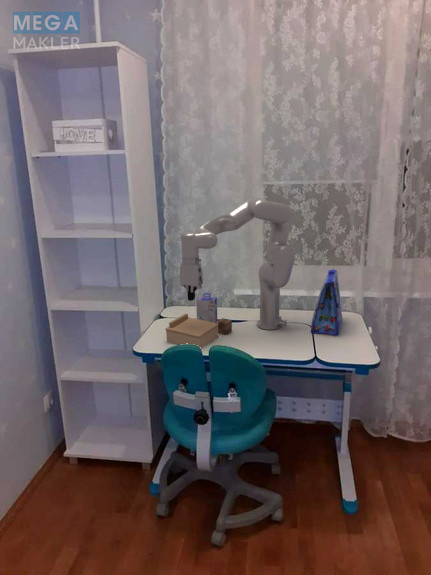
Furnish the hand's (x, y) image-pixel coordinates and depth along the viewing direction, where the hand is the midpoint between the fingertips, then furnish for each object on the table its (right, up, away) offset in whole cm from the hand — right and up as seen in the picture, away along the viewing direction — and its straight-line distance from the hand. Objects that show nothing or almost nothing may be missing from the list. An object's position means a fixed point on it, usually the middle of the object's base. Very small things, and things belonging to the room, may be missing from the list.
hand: (191, 299), depth 210 cm
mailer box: (0, -18, +6) cm, 19 cm away
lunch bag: (+65, -14, +17) cm, 69 cm away
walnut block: (+15, -16, +13) cm, 26 cm away
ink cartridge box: (+7, -12, +27) cm, 30 cm away
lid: (0, -13, +5) cm, 14 cm away
